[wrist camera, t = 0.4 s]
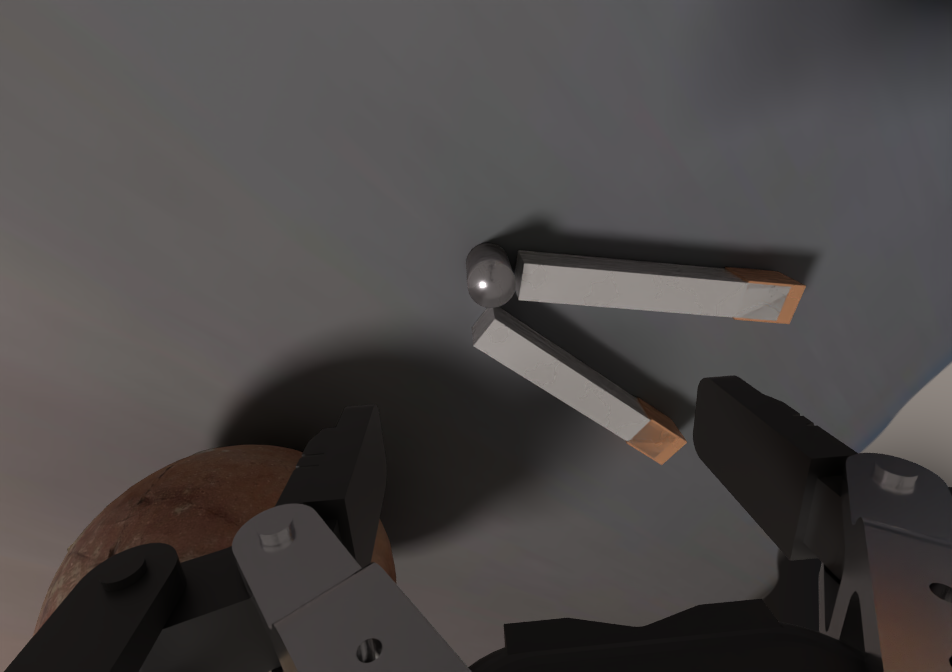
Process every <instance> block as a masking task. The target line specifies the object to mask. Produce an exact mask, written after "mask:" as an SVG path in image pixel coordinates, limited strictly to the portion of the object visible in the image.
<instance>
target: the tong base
mask: <svg viewBox="0 0 952 672" xmlns="http://www.w3.org/2000/svg"><path fill="white" fill-rule="evenodd" d="M466 271H467V284H468V291H469V294H470V296H471V298H472V299H473V300H474V301H475V302H476V303H477V304H479V305H481V306H483V307H487V309H486V310H485V311H484V313H483V314H482V315H481V316H480V318H479V319H478V320H477V322H476V323H475V324H474V325H473V327H472V335H473V346H474V347H476V348H477V349H479V350H481V351H482V352H484V353H485V354H487V355H489V356H490V357H492V358H494V359H495V360H497V361H498V362H500V363H502V364H503V365H505V366H506V367H508V368H510V369H511V370H513V371H515V372H516V373H518V374H519V375H521V376H523V377H524V378H526V379H527V380H529V381H531V382H532V383H534V384H535V385H537V386H539V387H540V388H542V389H544V390H545V391H547V392H548V393H550V394H552V395H553V396H555V397H556V398H558V399H560V400H561V401H563V402H564V403H566V404H568V405H569V406H571V407H573V408H574V409H576V410H577V411H579V412H581V413H582V414H584V415H585V416H587V417H589V418H590V419H592V420H593V421H595V422H597V423H598V424H600V425H602V426H603V427H605V428H606V429H608V430H610V431H611V432H613V433H614V434H616V435H618V436H619V437H621V438H622V439H624V440H625V441H626V443H627V444H629V445H630V446H632V447H634V448H635V449H637V450H639V451H640V452H642V453H643V454H645V455H647V456H648V457H650V458H651V459H653V460H655V461H656V462H658V463H660V464H661V465H662V464H663V463H665V462H666V461H667V460H668V459H669V458H670V457H671V456H672V455H673V454H675V453H676V452H677V451H678V450H679V449H680V448H681V447H682V446H684V445H685V444H686V443H687V441H686V440H685V438H684V437H683V435H682V434H681V432H680V431H679V430H678V428H677V427H676V425H675V424H674V422H673V421H672V419H670V418H669V417H667V416H666V415H664V414H663V413H661V412H660V411H658V410H657V409H655V408H654V407H652V406H651V405H649V404H648V403H646V402H645V401H643V400H642V399H640V398H639V397H638V398H636V397H634V396H633V395H631V394H630V393H628V392H626V391H625V390H623V389H622V388H620V387H619V386H617V385H616V384H614V383H613V382H611V381H610V380H608V379H607V378H605V377H604V376H602V375H601V374H599V373H598V372H596V371H595V370H593V369H592V368H590V367H589V366H587V365H586V364H584V363H583V362H581V361H580V360H578V359H577V358H575V357H574V356H572V355H571V354H569V353H568V352H566V351H565V350H563V349H562V348H560V347H559V346H557V345H556V344H554V343H553V342H551V341H550V340H548V339H547V338H545V337H544V336H542V335H541V334H539V333H538V332H536V331H535V330H533V329H532V328H530V327H529V326H527V325H526V324H524V323H523V322H521V321H520V320H518V319H517V318H515V317H514V316H512V315H511V314H509V313H508V312H506V311H504V310H503V309H501V308H500V307H499V306H502V305H504V304H505V303H507V302H508V301H509V300H510V299H511V298H512V296H513V294H514V292H515V289H516V280H515V276H514V274H513V271H512V268H511V265H510V262H509V259H508V257H507V254H506V252H505V251H504V250H503V249H502V248H501V247H500V246H498V245H496V244H493V243H482V244H479V245H477V246H476V247H474V248H473V249H472V250H471V251H470V252H469V254H468V256H467V259H466Z"/></svg>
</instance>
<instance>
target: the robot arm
mask: <svg viewBox="0 0 952 672" xmlns="http://www.w3.org/2000/svg"><path fill="white" fill-rule="evenodd" d="M693 441H694V446H695V449H696V452H697V454H698V456H699V458H700V459H701V460H702V461H703V462H704V464H705V465H706V466H707V467H708V468H709V469H710V470H711V472H712V473H713V474H714V475H715V476H716V477H717V478H718V479H719V481H720V482H721V483H722V484H723V485H724V486H725V487H726V488H727V490H728V491H729V492H730V493H731V494H732V495H733V496H734V498H735V499H736V500H737V501H738V502H739V503H740V504H741V505H742V507H743V508H744V509H745V510H746V511H747V512H748V513H749V515H750V516H751V517H752V518H753V519H754V520H755V521H756V522H757V524H758V525H759V526H760V527H761V528H762V529H763V530H764V532H765V533H766V534H767V535H768V536H769V537H770V538H771V539H772V541H773V542H774V543H775V544H776V545H777V546H778V547H779V548H780V550H781V551H782V552H783V553H784V554H785V555H786V556H787V558H788V559H789V560H800V559H811V558H819V559H820V560H821V561H822V565H821V569H820V573H819V632H816V631H814V630H810V629H807V628H804V627H800V626H796V625H792V624H787V623H782V622H778V620H777V619H776V618H775V617H774V615H773V614H772V612H771V611H770V610H769V608H768V607H767V606H766V604H765V603H764V601H763V600H762V599H755V600H744V601H734V602H724V603H714V604H704V605H698V606H695V607H693V608H690V609H687V610H685V611H682V612H680V613H677V614H675V615H672V616H670V617H667V618H664V619H662V620H659V621H657V622H654V623H652V624H649V625H646V626H643V627H631V626H624V625H617V624H609V623H602V622H595V621H587V620H580V619H573V618H561V619H551V620H541V621H531V622H520V623H510V624H504V638H505V648H502V649H499V650H497V651H494V652H492V653H490V654H489V655H487V656H485V657H483V658H481V659H479V660H478V661H477V662H475V663H474V664H472V665H471V666H470V667H467V665H466V664H465V663H464V662H463V661H462V660H461V658H460V657H459V656H458V655H457V654H456V653H455V652H454V650H453V649H452V648H451V647H450V646H449V645H448V643H447V642H446V641H445V640H444V639H443V638H442V637H441V635H440V634H439V633H438V632H437V631H436V630H435V628H434V627H433V626H432V625H431V624H430V623H429V621H428V620H427V619H426V618H425V617H424V616H423V615H422V613H421V612H420V611H419V610H418V609H417V608H416V606H415V605H414V604H413V603H412V602H411V601H410V599H409V598H408V597H407V596H406V595H405V594H404V593H403V591H402V590H401V589H400V588H399V587H398V586H397V584H396V583H395V582H394V581H393V580H392V579H391V578H390V576H389V575H388V574H387V573H386V572H385V571H384V569H383V568H382V567H381V566H380V565H378V564H377V563H375V562H371V560H372V555H373V549H374V544H375V539H376V534H377V529H378V524H379V519H380V514H381V509H382V504H383V499H384V494H385V489H386V483H387V462H386V455H385V448H384V441H383V434H382V428H381V421H380V414H379V409H378V406H377V405H376V404H372V405H360V406H347V407H345V408H344V410H343V412H342V415H341V417H340V419H339V421H338V424H337V426H336V428H324V429H323V430H321V431H320V432H319V433H318V434H317V435H315V436H314V437H313V438H312V439H311V440H310V441H309V442H308V444H307V446H306V447H305V449H304V451H303V453H302V458H300V459H299V461H298V463H297V465H296V469H295V470H294V471H293V472H292V474H291V476H290V478H289V480H288V482H287V484H286V486H285V488H284V490H283V492H282V494H281V495H280V497H279V499H278V501H277V503H276V505H275V507H273V508H270V509H267V510H265V511H263V512H261V513H259V514H257V515H256V516H254V517H253V518H251V519H250V520H249V521H247V522H246V523H245V524H244V525H243V526H242V527H241V528H240V529H239V531H238V532H237V533H236V535H235V537H234V539H233V542H232V546H230V547H228V548H225V549H222V550H220V551H216V552H213V553H210V554H207V555H204V556H200V557H197V558H194V559H191V560H188V561H184V562H181V563H180V560H179V557H178V555H177V552H176V550H175V549H174V547H172V546H171V545H169V544H165V543H148V544H143V545H139V546H135V547H132V548H130V549H127V550H124V551H122V552H120V553H118V554H116V555H114V556H112V557H110V558H108V559H107V560H105V561H103V562H102V563H100V564H99V565H97V566H96V567H95V568H93V569H92V570H91V571H90V572H88V573H87V574H86V575H85V576H84V577H83V578H82V579H81V580H80V581H79V582H78V584H77V585H76V586H75V587H74V588H73V590H72V591H71V592H70V593H69V594H68V595H67V597H66V598H65V599H64V600H63V601H62V603H61V604H60V605H59V606H58V607H57V609H56V610H55V611H54V612H53V613H52V615H51V616H50V617H49V618H48V619H47V621H46V622H45V623H44V624H43V625H42V627H41V628H40V629H39V630H38V631H37V633H36V634H35V635H34V636H33V637H32V639H31V640H30V641H29V642H28V643H27V645H26V646H25V647H24V648H23V649H22V651H21V652H20V653H19V654H18V655H17V657H16V658H15V659H14V660H13V661H12V663H11V664H10V665H9V666H8V667H7V669H6V670H5V671H4V672H268V671H269V672H952V487H948V486H947V485H946V483H945V482H944V481H943V480H942V479H941V478H940V477H939V476H938V475H936V474H935V473H933V472H932V471H930V470H928V469H926V468H924V467H922V466H920V465H918V464H916V463H913V462H910V461H908V460H904V459H901V458H898V457H894V456H890V455H885V454H877V453H859V454H858V453H857V452H855V451H854V450H852V449H851V448H849V447H848V446H846V445H845V444H844V443H842V442H841V441H839V440H838V439H836V438H835V437H833V436H832V435H830V434H829V433H827V432H826V431H824V430H823V429H822V428H820V427H819V426H814V423H813V422H811V421H810V420H808V419H807V418H805V417H804V416H800V413H798V412H797V411H795V410H794V409H792V408H791V407H789V406H788V405H786V404H785V403H784V402H782V401H779V400H777V399H774V398H772V397H769V396H767V395H764V394H762V393H761V392H759V391H758V390H756V389H755V388H753V387H752V386H751V385H749V384H748V383H746V382H745V381H743V380H742V379H741V378H739V377H737V376H722V377H709V378H703V379H702V380H701V381H700V383H699V385H698V391H697V401H696V410H695V420H694V429H693Z"/></svg>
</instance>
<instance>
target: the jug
mask: <svg viewBox="0 0 952 672" xmlns="http://www.w3.org/2000/svg"><path fill="white" fill-rule="evenodd" d="M302 453H303V452H300V451H298V450H294V449H289V448H284V447H279V446H272V445H236V446H227V447H220V448H213V449H208V450H204V451H200V452H198V453H195V454H193V455H191V456H189V457H186V458H183V459H181V460H178V461H176V462H174V463H172V464H170V465H168V466H166V467H164V468H162V469H160V470H158V471H156V472H155V473H153V474H151V475H149V476H147V477H146V478H144V479H143V480H141V481H140V482H138V483H136V484H135V485H133V486H132V487H130V488H129V489H128V490H127V491H125V492H124V493H123V494H122V495H120V496H119V497H118V498H117V499H115V500H114V501H113V502H111V503H110V504H109V505H108V506H107V507H106V508H105V509H104V510H103V511H102V512H101V513H100V514H99V515H98V516H97V517H96V518H95V519H94V520H93V521H92V522H91V523H90V524H89V525H88V526H87V527H86V528H85V529H84V531H83V532H82V533H81V534H80V536H79V537H78V538H77V539H76V541H75V542H74V543H73V544H72V545H71V546H70V547H69V548H68V549H67V550H68V553H67V555H66V556H65V558H64V560H63V562H62V564H61V565H60V567H59V568H58V570H57V572H56V574H55V576H54V578H53V581H52V583H51V585H50V587H49V589H48V592H47V594H46V597H45V600H44V602H43V605H42V608H41V611H40V614H39V617H38V620H37V623H36V627H35V631H34V634H33V636H34V635H35V634H36V633H37V631H38V630H39V629H40V628H41V627H42V625H43V624H44V623H45V622H46V621H47V619H48V618H49V617H50V616H51V615H52V613H53V612H54V611H55V610H56V609H57V607H58V606H59V605H60V604H61V603H62V601H63V600H64V599H65V598H66V597H67V595H68V594H69V593H70V592H71V591H72V590H73V588H74V587H75V586H76V585H77V584H78V582H79V581H80V580H81V579H82V578H83V577H84V576H85V575H86V574H87V573H88V572H90V571H91V570H92V569H93V568H95V567H96V566H97V565H99V564H100V563H102V562H103V561H105V560H107V559H108V558H110V557H112V556H114V555H116V554H118V553H120V552H122V551H124V550H127V549H130V548H132V547H135V546H139V545H143V544H148V543H165V544H169V545H171V546H172V547H174V549H175V550H176V552H177V555H178V557H179V560H180V563H181V562H184V561H188V560H191V559H194V558H197V557H200V556H204V555H207V554H210V553H213V552H216V551H220V550H222V549H225V548H228V547H230V546H232V542H233V539H234V537H235V535H236V533H237V532H238V531H239V529H240V528H241V527H242V526H243V525H244V524H245V523H246V522H247V521H249V520H250V519H251V518H253V517H254V516H256V515H257V514H259V513H261V512H263V511H265V510H267V509H270V508H273V507H275V505H276V503H277V501H278V499H279V497H280V495H281V494H282V492H283V490H284V488H285V486H286V484H287V482H288V480H289V478H290V476H291V474H292V472H293V471H294V470H295V469H296V465H297V463H298V461H299V459H300V458H302ZM371 562H375V563H377V564H378V565H380V566H381V567H382V568H383V569H384V571H385V572H386V573H387V574H388V575H389V576H390V578H391V579H392V580H393V581H394V582H395V583H396V573H395V565H394V560H393V556H392V550H391V545H390V541H389V538H388V536H387V533H386V531H385V529H384V527H383V524H382V522H381V520H380V519H379V524H378V529H377V534H376V539H375V544H374V549H373V555H372V560H371ZM268 672H269V671H268Z"/></svg>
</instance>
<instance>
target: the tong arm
mask: <svg viewBox="0 0 952 672" xmlns="http://www.w3.org/2000/svg"><path fill="white" fill-rule="evenodd" d="M515 280H516V289H515V291H516V294H517V297H518V300H524V301H536V302H549V303H561V304H573V305H586V306H598V307H611V308H623V309H636V310H648V311H660V312H673V313H685V314H698V315H710V316H722V317H732V318H733V319H734V320H747V321H759V322H771V323H784V324H789V323H790V321H791V319H792V317H793V314H794V312H795V310H796V307H797V305H798V303H799V301H800V298H801V296H802V294H803V292H804V289H805V287H806V286H805V285H803V284H801V283H799V282H798V281H796V280H794V279H792V278H790V277H788V276H786V275H784V274H782V273H780V272H778V271H768V270H757V269H746V268H735V267H725V269H723V268H712V267H701V266H689V265H678V264H667V263H656V262H645V261H634V260H623V259H611V258H600V257H589V256H578V255H567V254H556V253H544V252H533V251H522V250H518V256H517V263H516V270H515Z"/></svg>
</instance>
